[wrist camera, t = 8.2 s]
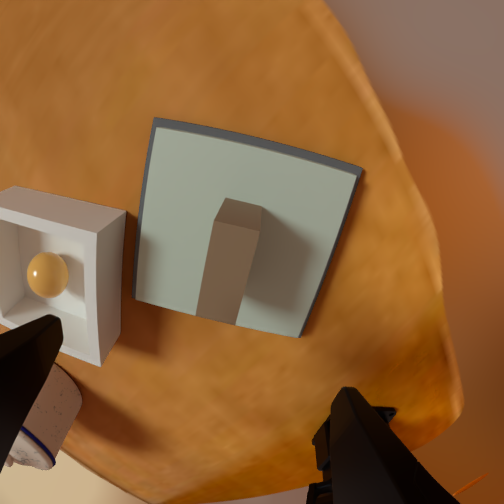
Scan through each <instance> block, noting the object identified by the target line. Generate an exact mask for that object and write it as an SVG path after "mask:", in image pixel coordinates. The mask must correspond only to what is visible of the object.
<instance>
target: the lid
mask: <svg viewBox="0 0 504 504" xmlns="http://www.w3.org/2000/svg"><path fill="white" fill-rule="evenodd" d="M356 177H357V176H356V175H355V174H353V173H350V172H347V171H344V170H341V169H338V168H334V167H331V166H328V165H324V164H321V163H318V162H314V161H311V160H307V159H304V158H300V157H296V156H293V155H289V154H285V153H281V152H277V151H274V150H270V149H266V148H262V147H258V146H253V145H249V144H245V143H240V142H236V141H232V140H227V139H222V138H218V137H213V136H208V135H203V134H198V133H193V132H187V131H182V130H176V129H170V128H165V127H156V132H155V137H154V143H153V148H152V154H151V160H150V166H149V173H148V179H147V186H146V193H145V201H144V209H143V217H142V226H141V235H140V245H139V256H138V268H137V283H136V300H139V301H142V302H146V303H149V304H153V305H157V306H160V307H164V308H168V309H172V310H175V311H179V312H183V313H187V314H191V315H195V316H198V317H202V318H207V319H211V320H215V321H219V322H223V323H228V324H232V325H237V326H242V327H246V328H251V329H255V330H260V331H265V332H270V333H275V334H279V335H285V336H290V337H295V338H298V336H299V334H300V331H301V329H302V327H303V324H304V322H305V319H306V317H307V314H308V312H309V309H310V307H311V304H312V302H313V299H314V297H315V294H316V291H317V289H318V286H319V284H320V281H321V278H322V276H323V273H324V270H325V268H326V265H327V262H328V259H329V257H330V254H331V251H332V248H333V246H334V243H335V240H336V237H337V234H338V231H339V228H340V226H341V223H342V220H343V217H344V214H345V211H346V208H347V205H348V202H349V199H350V196H351V193H352V189H353V186H354V183H355V180H356Z"/></svg>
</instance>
